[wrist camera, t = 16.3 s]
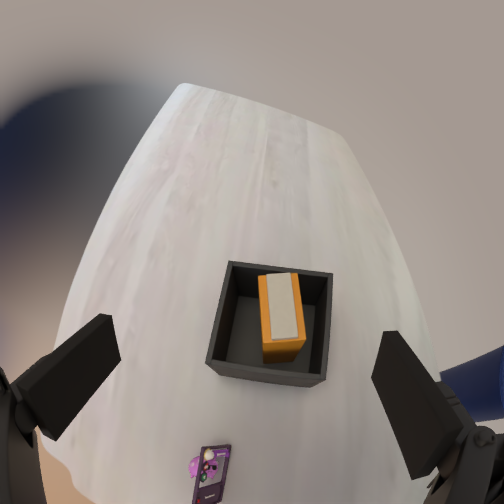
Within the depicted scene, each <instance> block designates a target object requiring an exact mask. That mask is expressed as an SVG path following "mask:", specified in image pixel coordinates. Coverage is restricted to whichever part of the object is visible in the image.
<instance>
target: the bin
mask: <svg viewBox="0 0 504 504" xmlns="http://www.w3.org/2000/svg"><path fill="white" fill-rule="evenodd" d="M289 272H290V273H297V274H298V280H299V287H300V294H301V302H302V309H303V317H304V324H305V332H306V341H305V342H304V344H303V346H302V348H301V349H300V351H299V353H298V354H297V356H296V358H295V359H294V361H293V362H282V363H270V364H263V354H262V339H261V325H260V308H259V285H258V276H262V275H266V274H276V273H289ZM332 289H333V273H325V272H317V271H308V270H300V269H292V268H284V267H276V266H268V265H260V264H252V263H244V262H236V261H234V262H233V261H228V265H227V270H226V274H225V278H224V282H223V286H222V291H221V295H220V299H219V304H218V308H217V312H216V317H215V321H214V325H213V330H212V334H211V339H210V343H209V348H208V352H207V357H206V361H205V363H206V364H207V365H208V366H209V367H210V368H212V369H213V370H214V371H215V372H216V373H218V374H219V375H222V376H228V377H233V378H239V379H245V380H251V381H258V382H265V383H272V384H280V385H289V386H298V387H309V388H310V387H312V386H315V385H317V384H319V383H321V382H323V381H324V380H326V371H327V361H328V351H329V339H330V325H331V310H332Z"/></svg>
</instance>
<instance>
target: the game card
mask: <svg viewBox="0 0 504 504" xmlns="http://www.w3.org/2000/svg"><path fill="white" fill-rule="evenodd" d="M220 448H227V449H224V450H214V451H211V449H220ZM205 450H206V451H205ZM230 451H231V445H228V444H227V445H218V446H206V447H202V448H201V453H200V456H198V457H195V458H194V459H193V460H192V461H191V462H190V464H189V472H190V473H191V478H193V477H194V476H195V477H196V482H195V488H194V494H193V500H192V504H217V503H219V502H221V501H222V496H223V490H224V485H225V479H226V473H227V468H228V462H229V456H230ZM219 456H225V462H224V468H223V474H222V479H221V482H218V483H215V484H212V485H208V486H205V487H201V488H199V484H200V481H201V482H202V483H203V482H204V481H205V480H206V478H207V477H211V478H212V479H213V476H214V475H215V474H216V472H217V470H218V465H219V464H217V463H218V462H219V461H218V462H216V457H219ZM213 457H215V458H214V460H213Z"/></svg>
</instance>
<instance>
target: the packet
mask: <svg viewBox="0 0 504 504" xmlns="http://www.w3.org/2000/svg"><path fill="white" fill-rule="evenodd" d="M258 285H259V308H260V325H261V339H262V354H263V364H270V363H282V362H293V361H294V359H295V358H296V356H297V354H298V353H299V351H300V349H301V348H302V346H303V344H304V342H305V341H306V332H305V324H304V317H303V309H302V302H301V294H300V287H299V280H298V274H297V273H290V272H289V273H276V274H266V275H262V276H258Z"/></svg>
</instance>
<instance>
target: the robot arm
mask: <svg viewBox="0 0 504 504" xmlns="http://www.w3.org/2000/svg"><path fill="white" fill-rule="evenodd" d="M120 361H121V357H120V353H119V349H118V344H117V340H116V335H115V330H114V325H113V320H112V315H106V314H99V315H97V316H96V317H95V318H94V319H92V320H91V321H90V322H88V323H87V324H86V325H85V326H84V327H82V328H81V329H80V330H79V331H77V332H76V333H75V334H74V335H72V336H71V337H70V338H69V339H68V340H66V341H65V342H64V343H63V344H62V345H60V346H59V347H58V348H57V349H56V350H54V351H53V352H52V353H50V354H48V355H46V356H44V357H42V358H40V359H39V360H38V361H37V362H36V363H35V365H32V366H31V367H30V368H29V369H28V370H26V371H25V372H24V373H23V374H22V375H20V376H19V377H18V378H17V379H16V380H15V381H14V382H12V383H11V384H9V382H8V380H7V378H6V375H5V373H4V371H3V369H2V368H1V367H0V504H47V502H46V497H45V493H44V487H43V482H42V476H41V469H40V462H39V453H38V443H37V434H36V431H35V430H34V429H35V427H36V426H37V425H38V427H39V428H40V430H41V432H42V433H43V435H45V436H47V437H48V438H50V439H52V440H54V441H57V440H58V438H59V437H60V436H61V435H62V433H63V432H64V431H65V429H66V428H67V427H68V426H69V424H70V423H71V422H72V420H73V419H74V418H75V417H76V415H77V414H78V413H79V412H80V410H81V409H82V408H83V407H84V405H85V404H86V403H87V402H88V400H89V399H90V398H91V397H92V395H93V394H94V393H95V392H96V390H97V389H98V388H99V387H100V385H101V384H102V383H103V382H104V381H105V379H106V378H107V377H108V376H109V374H110V373H111V372H112V371H113V370H114V368H115V367H116V366H117V365H118V364H119V362H120ZM371 379H372V381H373V383H374V386H375V388H376V390H377V393H378V395H379V397H380V400H381V402H382V404H383V407H384V409H385V412H386V414H387V417H388V419H389V421H390V424H391V426H392V429H393V431H394V434H395V437H396V439H397V442H398V444H399V447H400V449H401V452H402V455H403V457H404V460H405V463H406V466H407V468H408V471H409V474H410V477H411V480H414V479H418V478H421V477H424V476H428V475H430V473H431V472H432V471H433V470H434V468H435V467H436V466H437V468H438V470H439V473H438V474H437V476H436V477H435V478H434V479H433V480H432V481H431V482H430V484H429V485H428V486H427V488H430V487H431V489H430V491H429V493H428V495H427V497H426V499H425V501H424V503H423V504H504V433H503V434H495V432H494V431H493V430H492V429H490V428H488V427H486V426H477V425H476V424H475V422H474V421H473V419H472V418H471V416H470V415H469V413H468V412H467V411H466V409H465V408H464V406H463V405H462V404H460V400H459V399H458V398H457V397H456V395H455V393H454V392H453V391H452V389H451V388H450V387H449V386H447V385H446V384H445V383H443V382H442V381H440V382H435V381H434V380H433V379H432V377H431V376H430V374H429V373H428V371H427V370H426V369H425V367H424V366H423V364H422V363H421V362H420V360H419V359H418V358H417V356H416V355H415V353H414V352H413V351H412V349H411V348H410V347H409V345H408V344H407V343H406V341H405V340H404V339H403V337H402V336H401V335H400V333H399V332H398V331H383V335H382V339H381V343H380V347H379V351H378V355H377V359H376V362H375V366H374V369H373V373H372V376H371ZM431 485H432V486H431Z"/></svg>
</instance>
